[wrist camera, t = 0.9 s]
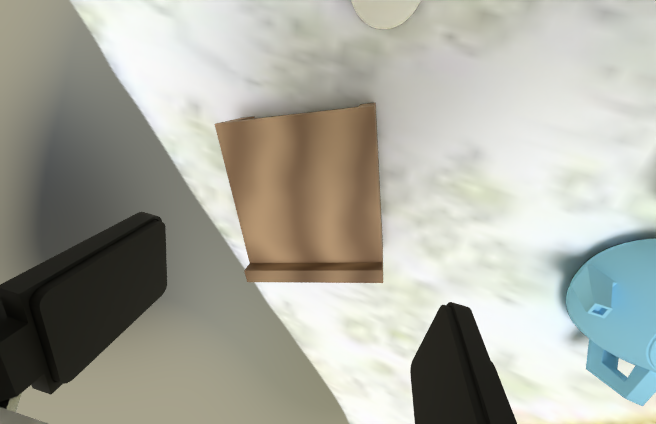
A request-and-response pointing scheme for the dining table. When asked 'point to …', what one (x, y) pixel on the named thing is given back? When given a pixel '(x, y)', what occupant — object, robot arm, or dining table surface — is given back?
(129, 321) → the robot arm
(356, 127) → the shelf
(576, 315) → the teapot
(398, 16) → the can
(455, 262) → the dining table surface
